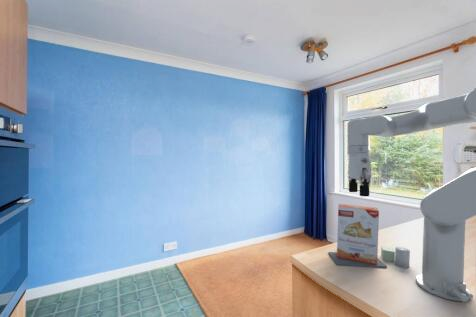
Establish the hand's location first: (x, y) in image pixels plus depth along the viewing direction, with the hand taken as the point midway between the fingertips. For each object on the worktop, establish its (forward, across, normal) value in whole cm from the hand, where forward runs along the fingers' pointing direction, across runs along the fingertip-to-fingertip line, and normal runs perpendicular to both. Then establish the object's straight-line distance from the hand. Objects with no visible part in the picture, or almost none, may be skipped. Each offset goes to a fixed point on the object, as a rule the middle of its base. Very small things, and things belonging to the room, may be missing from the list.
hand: (358, 193), depth 86 cm
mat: (+27, +1, +1) cm, 27 cm away
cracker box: (+26, +1, +1) cm, 26 cm away
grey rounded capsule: (+27, -1, -15) cm, 31 cm away
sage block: (+27, +4, -13) cm, 30 cm away
